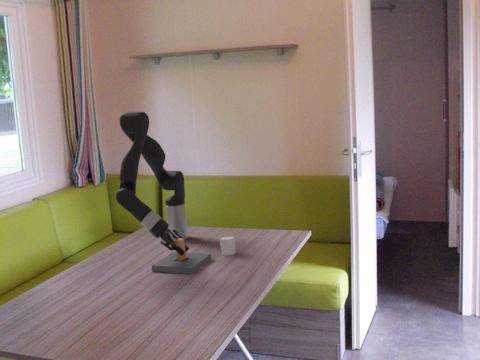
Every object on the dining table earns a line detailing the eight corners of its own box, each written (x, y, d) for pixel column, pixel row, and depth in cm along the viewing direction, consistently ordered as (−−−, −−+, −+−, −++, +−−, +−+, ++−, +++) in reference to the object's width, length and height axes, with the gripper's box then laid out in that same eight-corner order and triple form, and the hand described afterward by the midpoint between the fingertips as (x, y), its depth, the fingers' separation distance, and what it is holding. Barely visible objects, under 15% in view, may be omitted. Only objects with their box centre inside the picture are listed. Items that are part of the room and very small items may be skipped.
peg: (180, 263, 234) (178, 238, 232) (188, 264, 232) (185, 238, 230) (176, 266, 230) (173, 240, 229) (184, 267, 229) (181, 240, 227)
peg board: (173, 257, 243) (173, 251, 243) (211, 259, 236) (210, 253, 236) (152, 271, 227) (151, 265, 226) (192, 274, 220) (191, 267, 219)
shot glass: (236, 255, 239) (235, 239, 238) (220, 256, 240) (218, 240, 238) (236, 250, 246) (235, 235, 245) (221, 251, 246) (219, 236, 245)
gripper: (154, 222, 223) (186, 251, 222) (166, 213, 236) (196, 240, 236) (143, 235, 225) (174, 264, 224) (155, 226, 238) (185, 253, 238)
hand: (185, 252), depth 230 cm, fingers open, 4 cm apart
